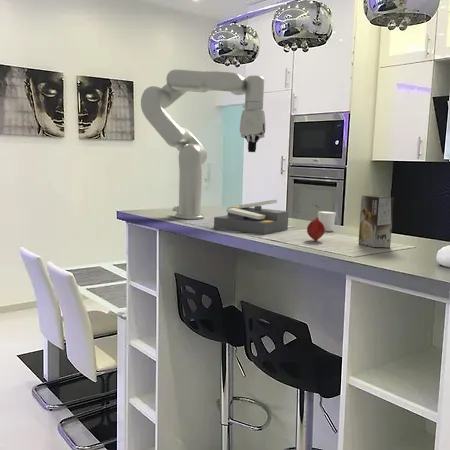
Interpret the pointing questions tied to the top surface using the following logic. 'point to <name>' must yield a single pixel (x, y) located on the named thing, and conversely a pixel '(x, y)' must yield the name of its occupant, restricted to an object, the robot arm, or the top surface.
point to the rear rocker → (258, 204)
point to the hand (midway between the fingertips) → (251, 152)
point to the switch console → (254, 221)
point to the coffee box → (376, 221)
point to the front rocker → (245, 213)
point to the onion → (315, 229)
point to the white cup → (327, 219)
